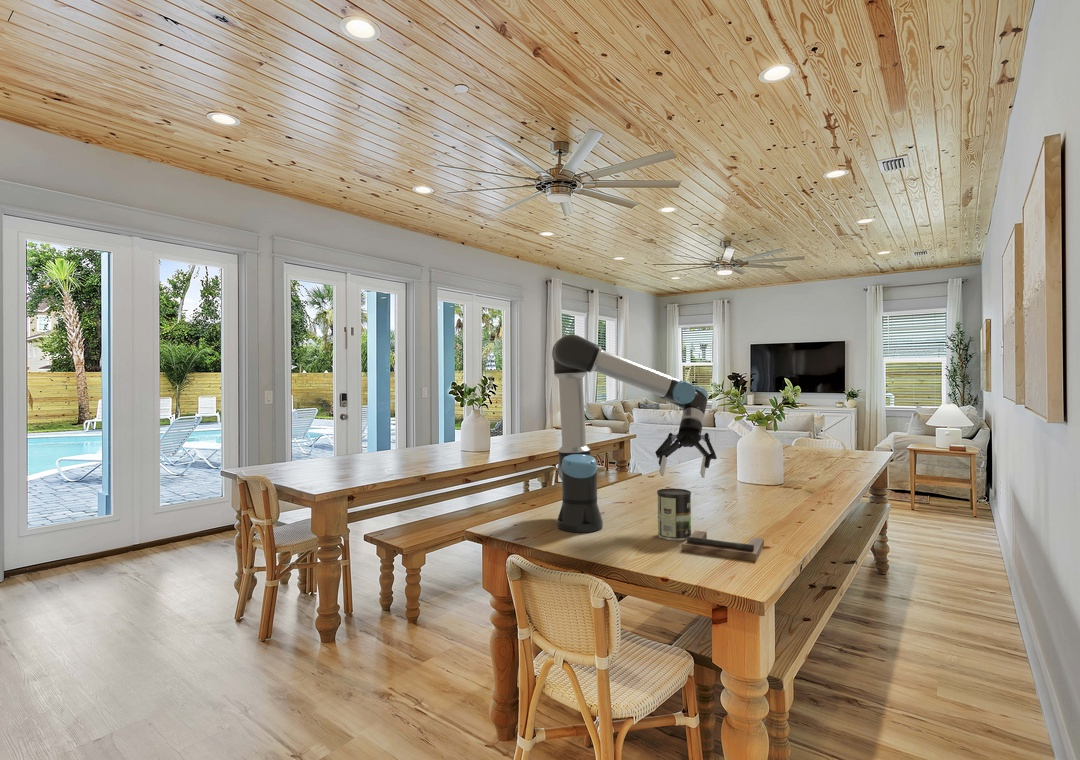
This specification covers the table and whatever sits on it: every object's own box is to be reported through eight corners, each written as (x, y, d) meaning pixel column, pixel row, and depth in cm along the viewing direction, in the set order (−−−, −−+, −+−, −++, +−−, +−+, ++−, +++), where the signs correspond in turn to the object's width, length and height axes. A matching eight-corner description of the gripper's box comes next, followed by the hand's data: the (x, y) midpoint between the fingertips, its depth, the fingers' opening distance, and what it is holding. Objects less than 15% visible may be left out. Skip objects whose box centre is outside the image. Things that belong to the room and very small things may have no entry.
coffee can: (690, 532, 181) (689, 488, 181) (692, 541, 171) (692, 495, 171) (657, 531, 183) (657, 487, 183) (657, 540, 173) (657, 494, 173)
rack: (682, 551, 162) (681, 538, 162) (695, 536, 176) (695, 525, 176) (756, 561, 152) (756, 547, 152) (763, 545, 166) (763, 533, 166)
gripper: (730, 430, 194) (722, 482, 181) (659, 430, 207) (648, 479, 194) (725, 416, 189) (717, 469, 177) (654, 417, 202) (641, 466, 189)
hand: (681, 474), depth 185 cm, fingers open, 13 cm apart
